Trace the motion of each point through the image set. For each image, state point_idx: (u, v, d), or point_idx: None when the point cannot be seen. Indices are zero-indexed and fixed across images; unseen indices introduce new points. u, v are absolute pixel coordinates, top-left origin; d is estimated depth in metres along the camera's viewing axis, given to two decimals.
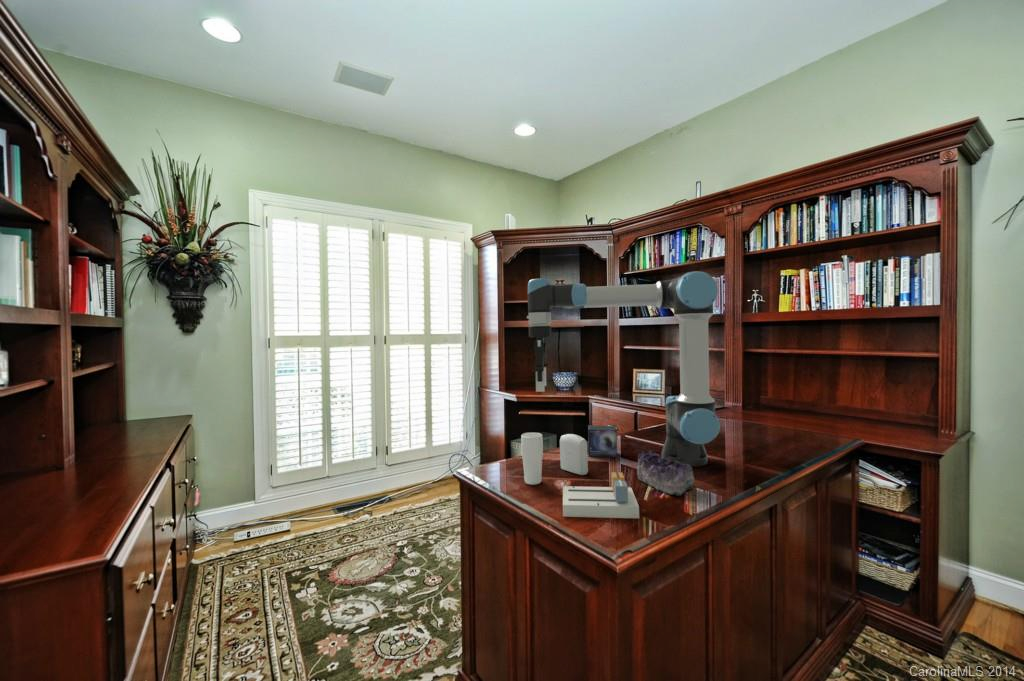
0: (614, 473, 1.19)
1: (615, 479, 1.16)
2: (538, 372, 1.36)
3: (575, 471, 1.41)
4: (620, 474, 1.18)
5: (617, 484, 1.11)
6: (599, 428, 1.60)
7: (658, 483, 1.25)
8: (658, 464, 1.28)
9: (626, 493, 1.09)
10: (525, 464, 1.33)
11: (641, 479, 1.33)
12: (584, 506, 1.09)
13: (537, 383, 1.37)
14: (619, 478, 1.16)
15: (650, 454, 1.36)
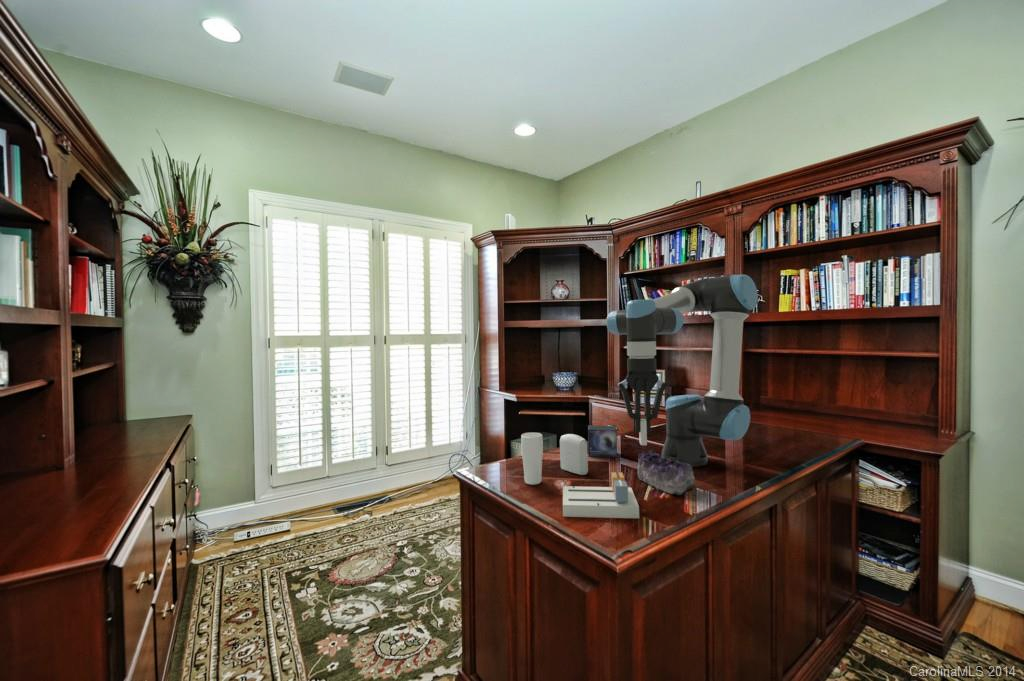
0: (614, 473, 1.19)
1: (615, 479, 1.16)
2: (635, 420, 1.17)
3: (575, 471, 1.41)
4: (620, 474, 1.18)
5: (617, 484, 1.11)
6: (599, 428, 1.60)
7: (659, 482, 1.25)
8: (658, 464, 1.29)
9: (626, 493, 1.09)
10: (525, 464, 1.33)
11: (641, 479, 1.33)
12: (584, 506, 1.09)
13: (639, 433, 1.17)
14: (619, 478, 1.16)
15: (650, 454, 1.36)
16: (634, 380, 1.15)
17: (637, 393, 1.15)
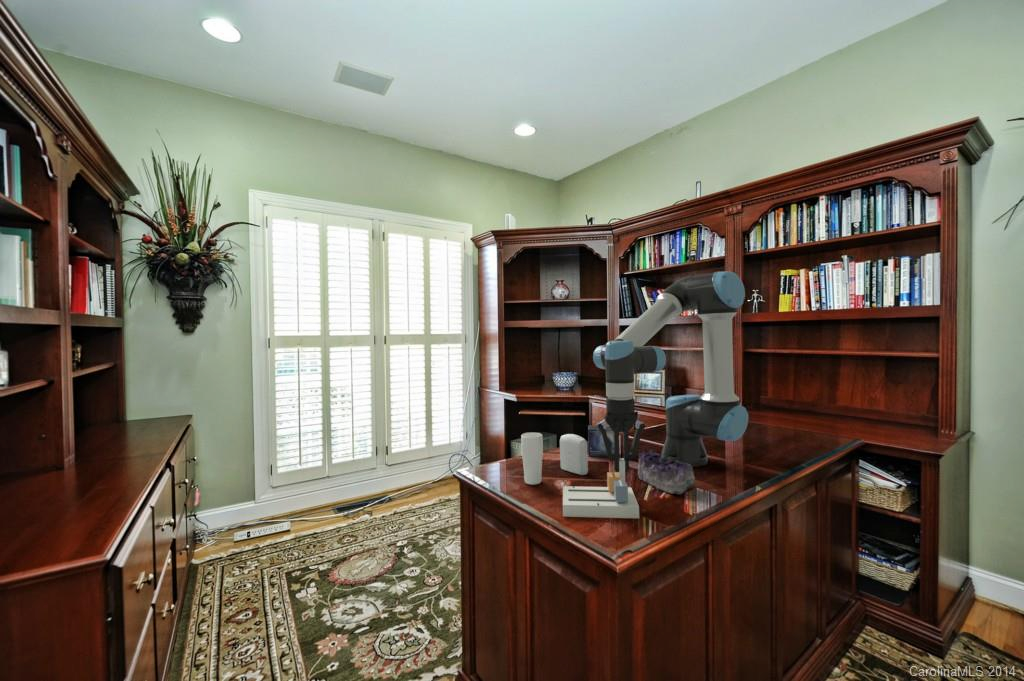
0: (610, 473, 1.19)
1: (611, 479, 1.16)
2: (614, 460, 1.18)
3: (575, 471, 1.41)
4: (616, 474, 1.18)
5: (617, 484, 1.11)
6: None
7: (659, 482, 1.25)
8: (659, 463, 1.29)
9: (626, 493, 1.09)
10: (525, 464, 1.33)
11: (642, 478, 1.33)
12: (584, 506, 1.09)
13: (618, 472, 1.18)
14: (615, 478, 1.16)
15: (651, 454, 1.37)
16: (613, 420, 1.16)
17: (616, 434, 1.16)
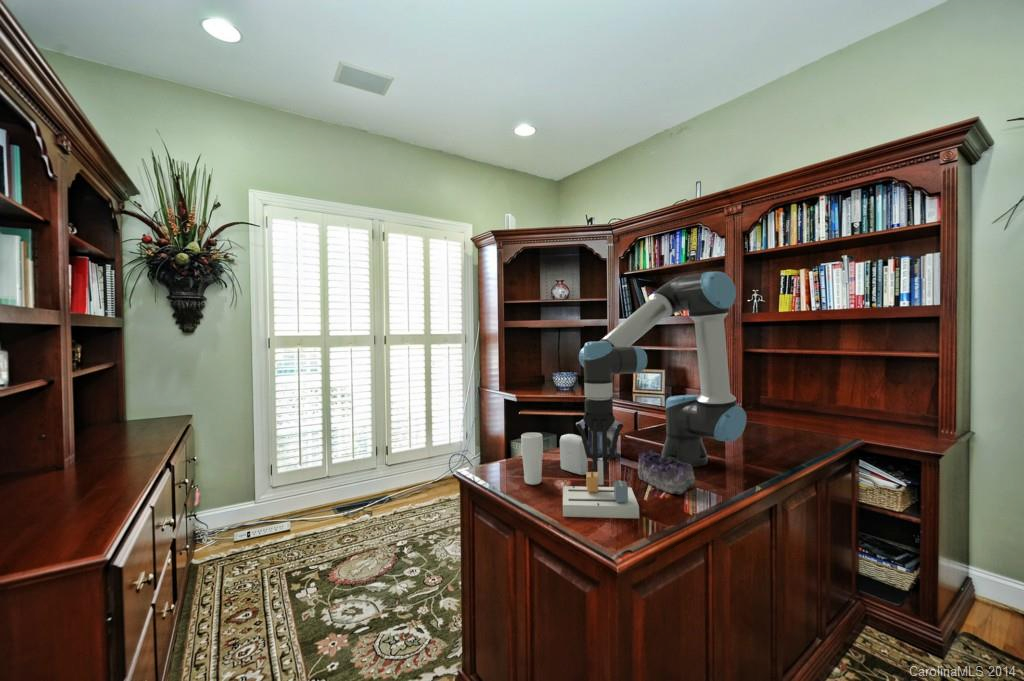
0: (589, 473, 1.20)
1: (589, 479, 1.17)
2: None
3: (575, 471, 1.41)
4: (594, 474, 1.19)
5: (617, 484, 1.11)
6: None
7: (659, 482, 1.25)
8: (659, 463, 1.29)
9: (626, 493, 1.09)
10: (525, 464, 1.33)
11: (642, 478, 1.33)
12: (584, 506, 1.09)
13: (597, 472, 1.19)
14: (593, 478, 1.16)
15: (651, 454, 1.37)
16: (591, 421, 1.17)
17: (594, 434, 1.16)
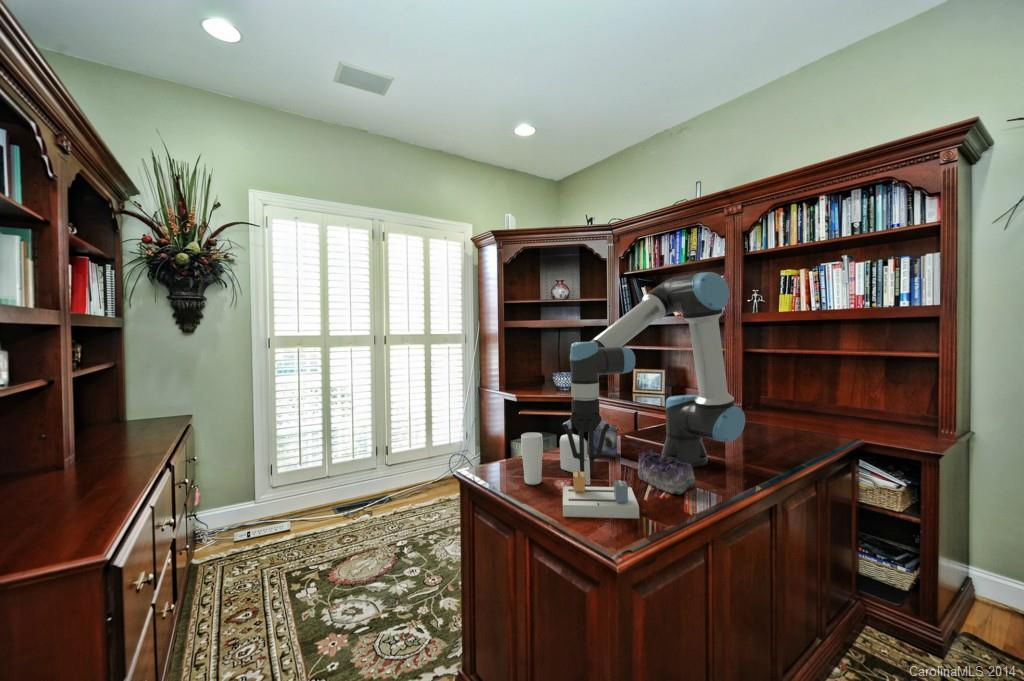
0: (576, 472, 1.20)
1: (576, 478, 1.17)
2: (579, 459, 1.19)
3: (575, 471, 1.41)
4: (581, 473, 1.19)
5: (617, 484, 1.11)
6: (599, 428, 1.60)
7: (659, 482, 1.25)
8: (659, 463, 1.29)
9: (626, 493, 1.09)
10: (525, 464, 1.33)
11: (642, 478, 1.33)
12: (584, 506, 1.09)
13: None
14: (580, 477, 1.17)
15: (651, 453, 1.37)
16: (578, 421, 1.17)
17: (580, 434, 1.17)
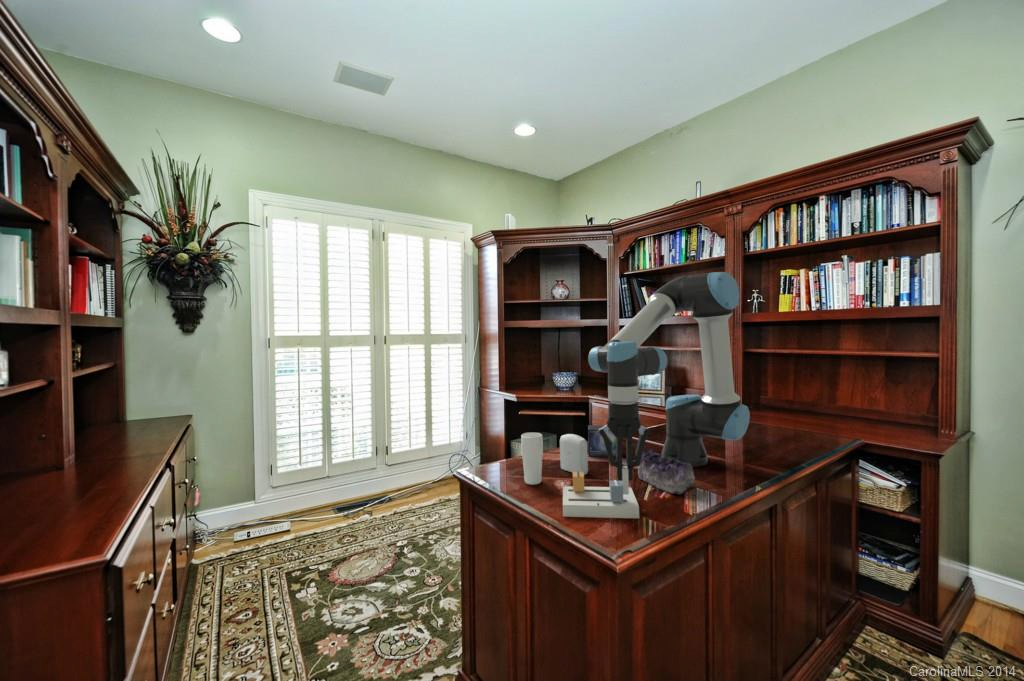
0: (575, 472, 1.20)
1: (575, 478, 1.17)
2: None
3: (575, 471, 1.41)
4: (581, 473, 1.19)
5: (612, 484, 1.11)
6: None
7: (659, 482, 1.26)
8: (659, 463, 1.29)
9: (621, 493, 1.09)
10: (525, 464, 1.33)
11: (642, 478, 1.33)
12: (584, 506, 1.09)
13: (621, 481, 1.12)
14: (579, 477, 1.17)
15: (651, 453, 1.37)
16: (615, 426, 1.10)
17: (618, 440, 1.09)
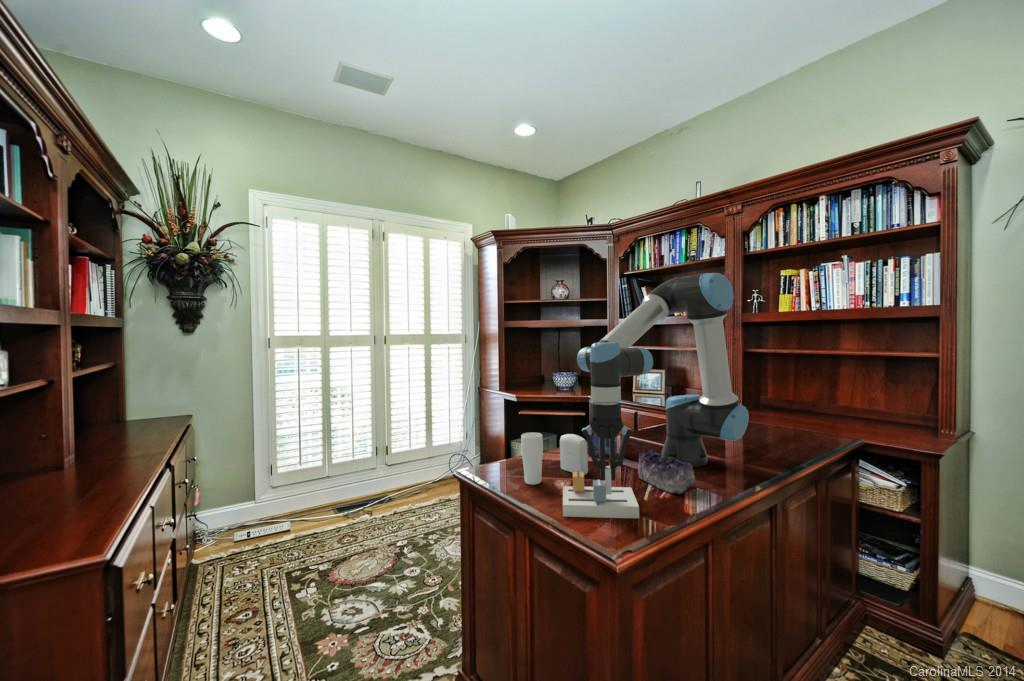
0: (575, 472, 1.20)
1: (575, 478, 1.17)
2: None
3: (575, 471, 1.41)
4: (581, 473, 1.19)
5: (595, 484, 1.11)
6: None
7: (659, 481, 1.26)
8: (659, 463, 1.29)
9: (604, 493, 1.10)
10: (525, 464, 1.33)
11: (642, 478, 1.33)
12: (584, 506, 1.09)
13: None
14: (579, 477, 1.17)
15: (651, 453, 1.37)
16: (598, 426, 1.10)
17: (601, 440, 1.10)
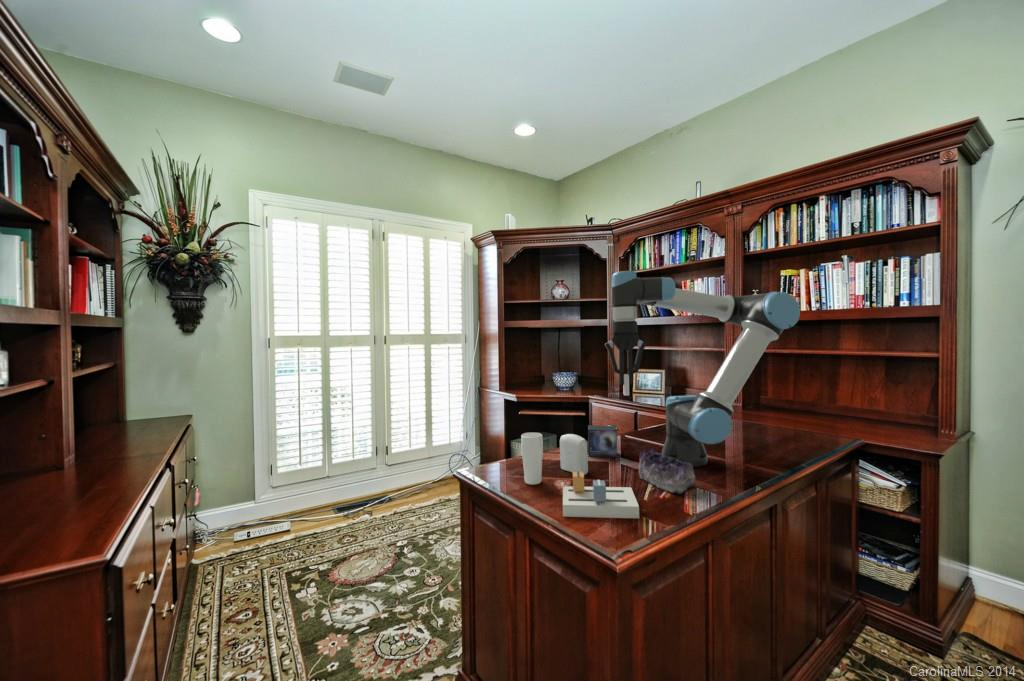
0: (575, 472, 1.20)
1: (575, 478, 1.17)
2: None
3: (575, 471, 1.41)
4: (581, 473, 1.19)
5: (595, 484, 1.11)
6: (599, 428, 1.60)
7: (659, 481, 1.26)
8: (659, 463, 1.30)
9: (604, 493, 1.10)
10: (525, 464, 1.33)
11: (642, 478, 1.34)
12: (584, 506, 1.09)
13: (623, 386, 1.37)
14: (579, 477, 1.17)
15: (651, 453, 1.37)
16: (618, 340, 1.35)
17: (621, 351, 1.35)
